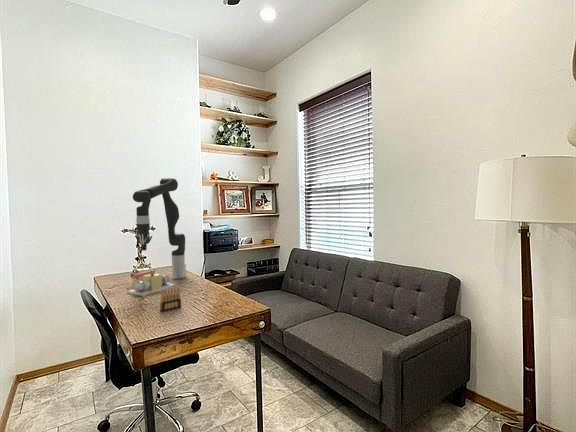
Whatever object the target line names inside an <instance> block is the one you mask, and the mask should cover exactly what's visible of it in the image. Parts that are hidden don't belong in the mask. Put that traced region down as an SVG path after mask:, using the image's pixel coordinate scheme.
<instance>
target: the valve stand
mask: <svg viewBox="0 0 576 432" xmlns="http://www.w3.org/2000/svg"><path fill="white" fill-rule="evenodd" d="M170 281H171V277H170V276H169V275H167V274H166V275H163V274H160V273H156V272H155V273H151V274H148V275H144V276H143V281H137V282H135V283H133V289H132V288H131V289H129V290H127V292H126V293H127V294H129V295H135V296H140V297H145V296H147V295H150V294H151V295H152V294H156V293H157V292H161V290H162V289H163V291H164V290H165V288H166V290H168V287H169V289H171V287H173V288H174V287H175V286H176V287H177V284H176V283H171V282H170Z"/></svg>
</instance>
